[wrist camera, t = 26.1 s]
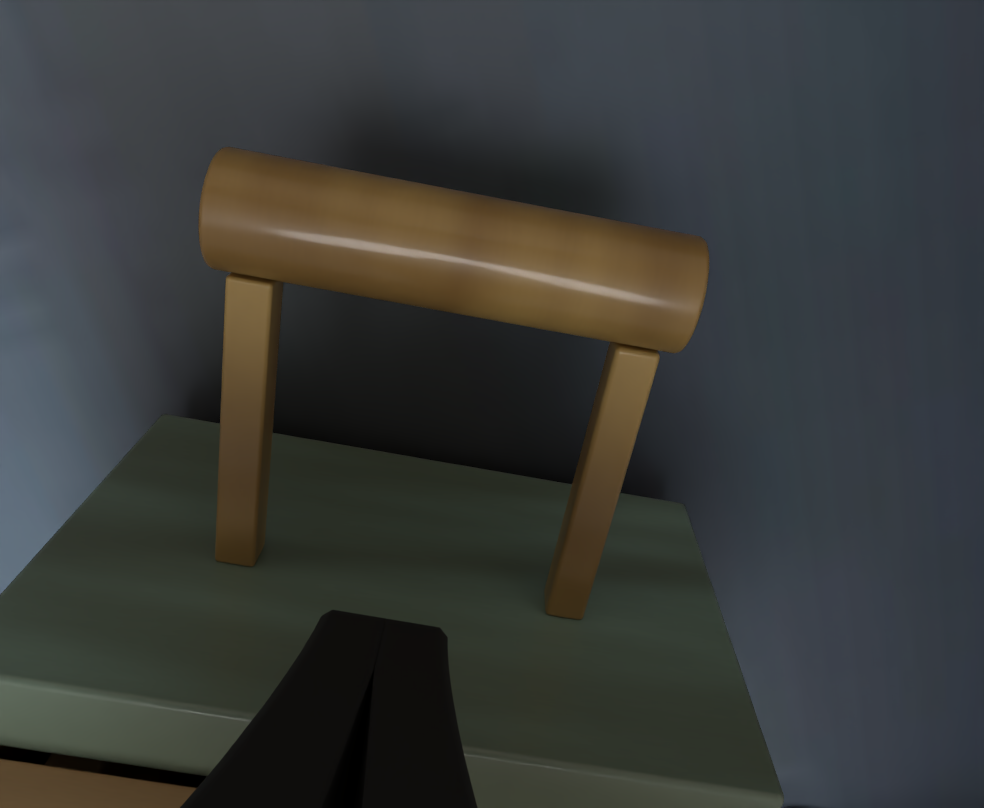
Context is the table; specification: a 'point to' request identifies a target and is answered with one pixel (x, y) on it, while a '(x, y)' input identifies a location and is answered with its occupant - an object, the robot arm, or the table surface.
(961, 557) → the table surface
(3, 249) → the table surface
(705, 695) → the drawer
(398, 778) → the robot arm
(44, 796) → the cabinet
